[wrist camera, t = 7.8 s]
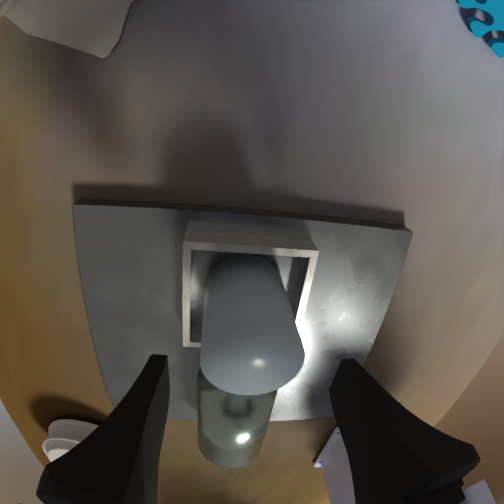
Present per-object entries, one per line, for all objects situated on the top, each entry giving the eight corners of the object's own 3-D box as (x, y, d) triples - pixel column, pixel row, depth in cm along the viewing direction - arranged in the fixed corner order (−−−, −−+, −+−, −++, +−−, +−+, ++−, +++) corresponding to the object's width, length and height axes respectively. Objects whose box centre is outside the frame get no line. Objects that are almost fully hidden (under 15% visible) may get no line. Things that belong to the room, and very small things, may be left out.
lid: (139, 476, 31) (135, 506, 27) (49, 441, 28) (40, 471, 23) (169, 441, 27) (165, 482, 23) (53, 396, 24) (38, 434, 19)
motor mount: (335, 408, 26) (352, 460, 21) (116, 401, 24) (102, 456, 18) (405, 226, 18) (460, 270, 13) (79, 199, 16) (26, 240, 11)
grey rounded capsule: (278, 319, 19) (297, 392, 14) (206, 320, 19) (203, 395, 14) (286, 254, 18) (312, 320, 12) (204, 254, 17) (196, 322, 12)
